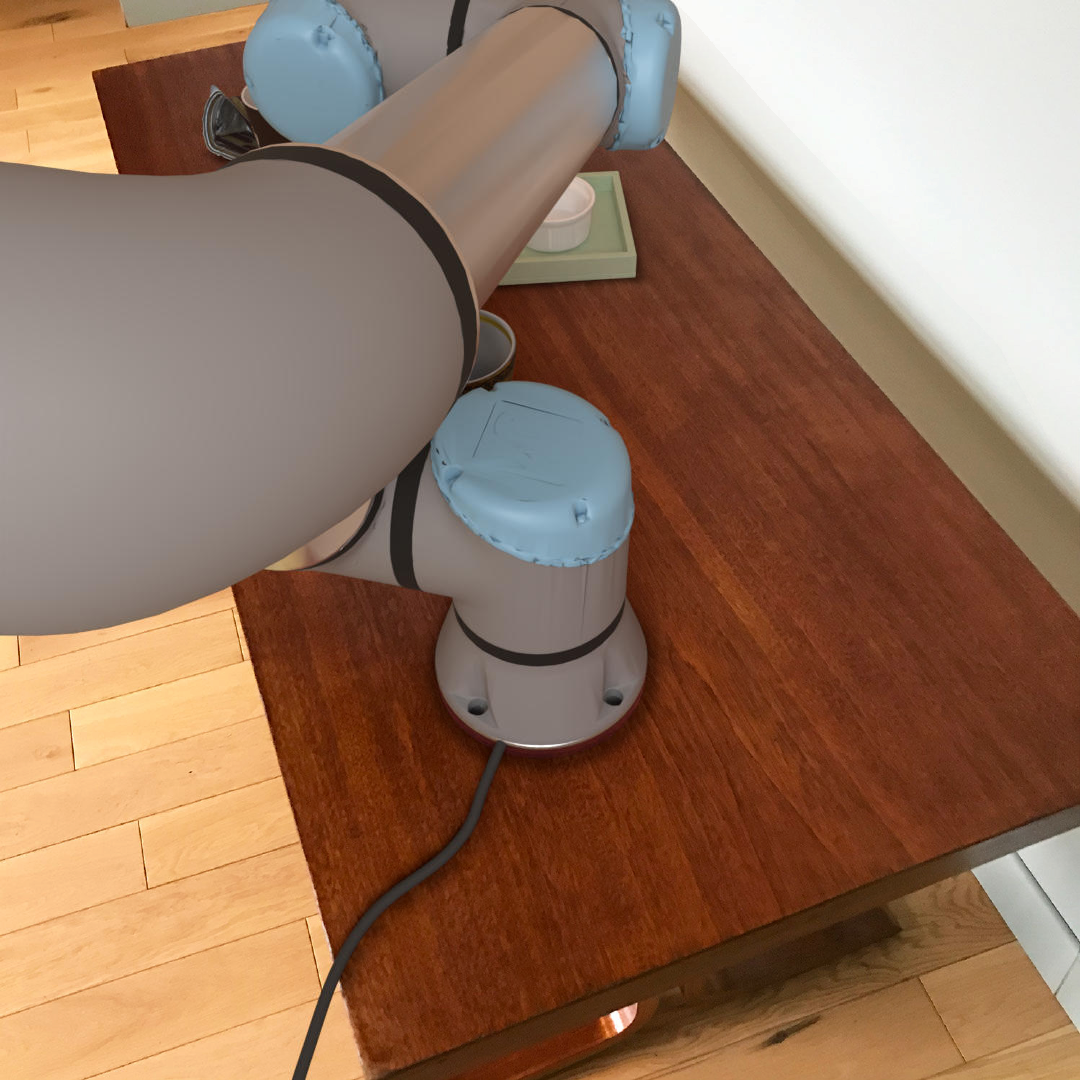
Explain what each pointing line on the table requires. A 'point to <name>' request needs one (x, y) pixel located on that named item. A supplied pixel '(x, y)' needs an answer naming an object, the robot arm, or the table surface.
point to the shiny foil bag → (227, 126)
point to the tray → (586, 243)
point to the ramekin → (566, 220)
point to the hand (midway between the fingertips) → (445, 361)
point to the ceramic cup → (492, 354)
